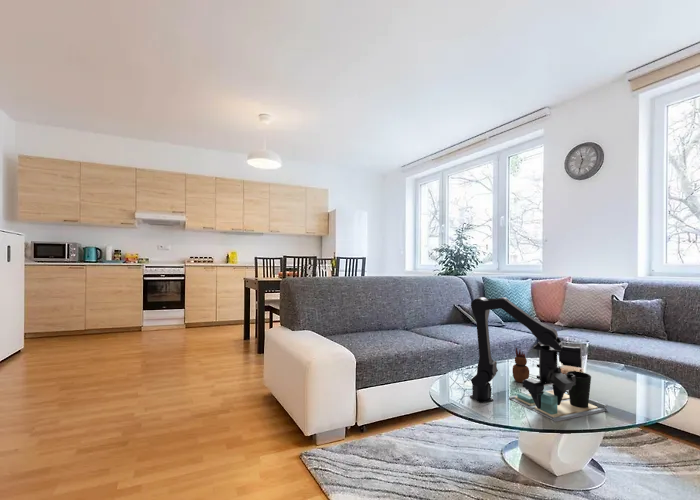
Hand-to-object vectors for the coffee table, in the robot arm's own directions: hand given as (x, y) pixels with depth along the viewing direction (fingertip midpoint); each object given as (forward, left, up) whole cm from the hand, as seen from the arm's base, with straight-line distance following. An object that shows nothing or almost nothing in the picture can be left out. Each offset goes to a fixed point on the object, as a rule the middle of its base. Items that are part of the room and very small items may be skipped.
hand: (548, 406), depth 132 cm
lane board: (+10, +5, -2) cm, 11 cm away
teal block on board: (+9, 0, -2) cm, 9 cm away
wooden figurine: (+17, +29, -3) cm, 33 cm away
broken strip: (+9, +10, -2) cm, 14 cm away
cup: (+15, 0, -2) cm, 15 cm away
